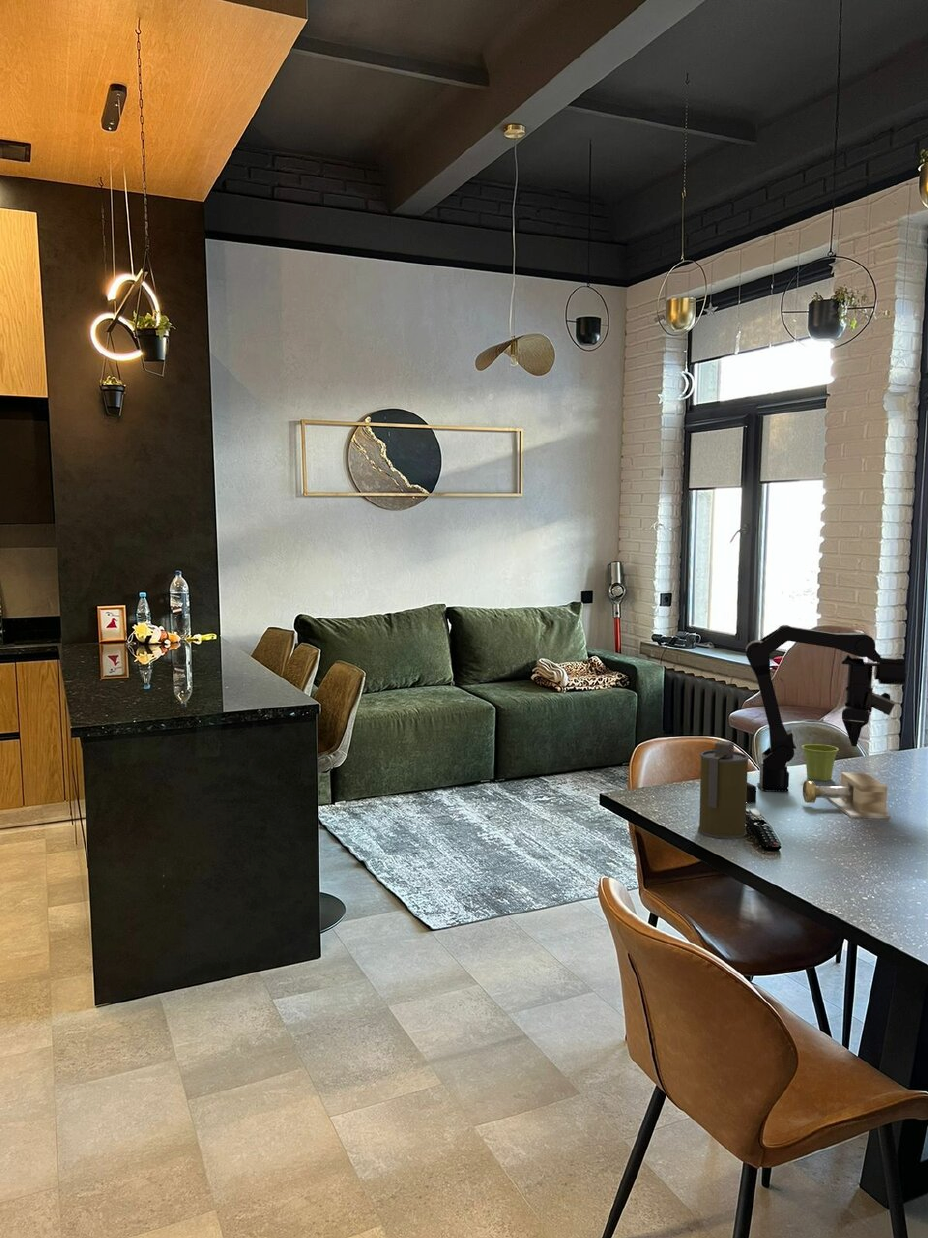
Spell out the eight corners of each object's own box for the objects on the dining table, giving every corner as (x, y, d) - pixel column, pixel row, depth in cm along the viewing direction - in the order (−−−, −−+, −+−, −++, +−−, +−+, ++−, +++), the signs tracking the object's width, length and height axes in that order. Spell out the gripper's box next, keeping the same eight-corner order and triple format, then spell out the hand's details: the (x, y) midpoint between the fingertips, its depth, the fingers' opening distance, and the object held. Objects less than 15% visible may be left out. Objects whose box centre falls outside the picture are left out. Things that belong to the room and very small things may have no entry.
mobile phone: (758, 785, 223) (722, 769, 237) (748, 786, 222) (712, 770, 236) (757, 804, 224) (721, 788, 238) (747, 805, 223) (712, 789, 237)
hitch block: (851, 817, 212) (852, 788, 211) (824, 796, 230) (825, 769, 229) (890, 818, 211) (891, 789, 211) (860, 797, 229) (861, 770, 229)
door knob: (809, 805, 218) (810, 784, 218) (802, 799, 224) (803, 778, 223) (875, 806, 218) (875, 785, 217) (866, 800, 223) (867, 779, 222)
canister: (709, 821, 208) (712, 736, 206) (753, 831, 201) (756, 742, 200) (689, 833, 200) (691, 744, 198) (734, 843, 193) (737, 751, 191)
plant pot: (793, 775, 251) (794, 744, 251) (821, 773, 254) (822, 743, 254) (816, 784, 242) (817, 752, 242) (845, 781, 245) (846, 750, 245)
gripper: (893, 690, 217) (889, 754, 219) (894, 680, 234) (890, 740, 235) (843, 686, 222) (839, 748, 224) (848, 677, 239) (844, 735, 240)
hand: (855, 743), depth 231 cm, fingers open, 9 cm apart
